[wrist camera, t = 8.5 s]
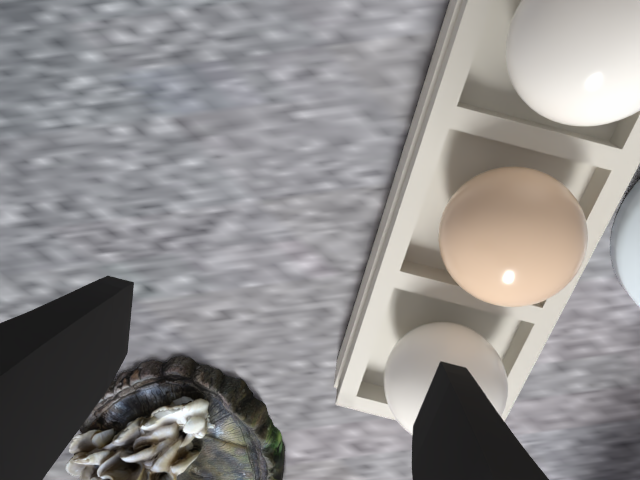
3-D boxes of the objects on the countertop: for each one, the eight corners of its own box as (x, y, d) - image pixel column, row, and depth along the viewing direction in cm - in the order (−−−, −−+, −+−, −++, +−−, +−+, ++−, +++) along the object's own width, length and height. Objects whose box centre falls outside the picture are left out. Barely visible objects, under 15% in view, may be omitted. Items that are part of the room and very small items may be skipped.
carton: (703, -52, 16) (763, -61, 14) (483, 398, 24) (495, 445, 22) (484, -110, 16) (504, -130, 14) (336, 361, 24) (331, 403, 22)
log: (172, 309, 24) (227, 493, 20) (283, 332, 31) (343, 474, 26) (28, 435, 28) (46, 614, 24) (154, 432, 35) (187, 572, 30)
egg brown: (580, 168, 18) (644, 217, 14) (528, 278, 20) (571, 350, 16) (454, 136, 18) (482, 176, 14) (414, 250, 19) (428, 315, 15)
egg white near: (673, -24, 15) (778, -32, 11) (602, 124, 17) (671, 163, 13) (524, -63, 15) (578, -85, 11) (470, 90, 17) (499, 119, 13)
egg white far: (511, 315, 20) (544, 393, 16) (471, 400, 22) (491, 488, 18) (401, 287, 20) (406, 358, 16) (370, 374, 22) (368, 457, 18)
